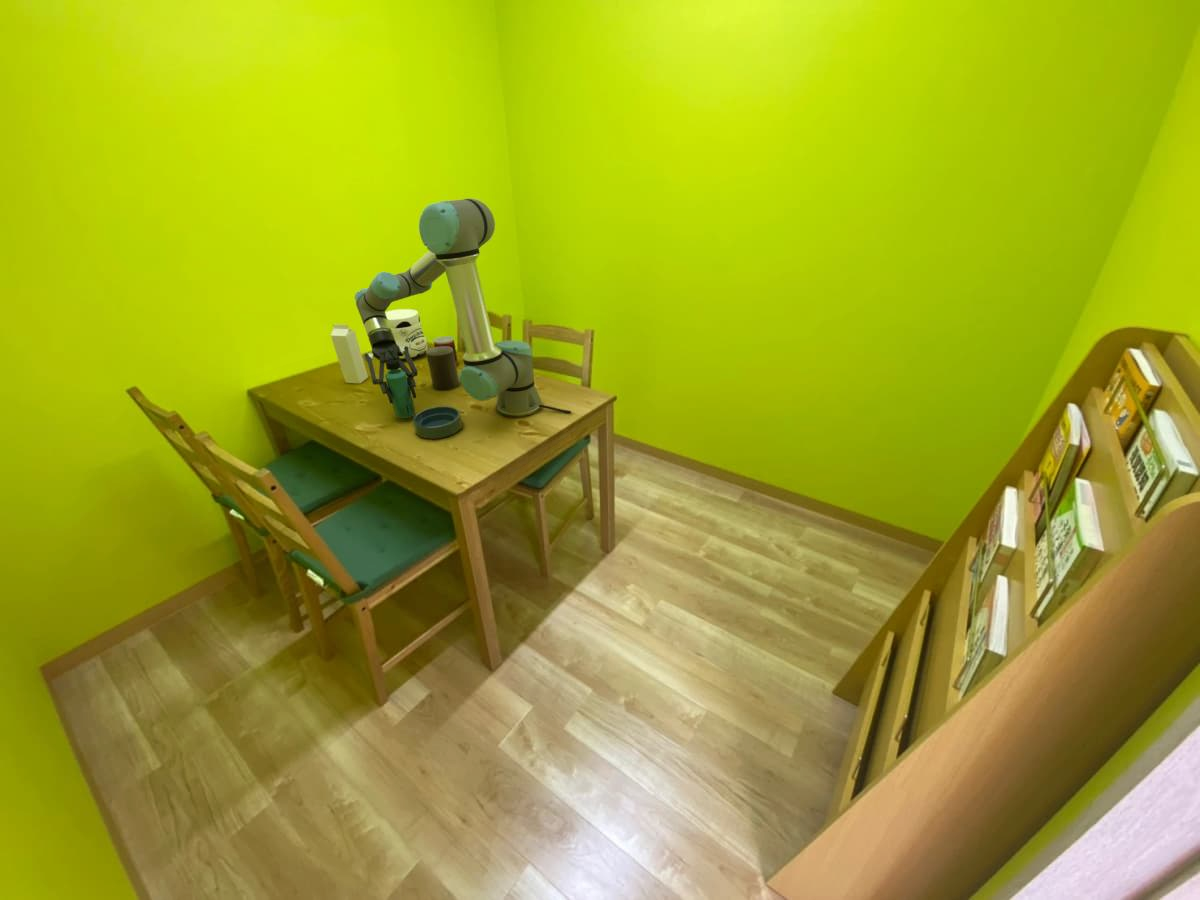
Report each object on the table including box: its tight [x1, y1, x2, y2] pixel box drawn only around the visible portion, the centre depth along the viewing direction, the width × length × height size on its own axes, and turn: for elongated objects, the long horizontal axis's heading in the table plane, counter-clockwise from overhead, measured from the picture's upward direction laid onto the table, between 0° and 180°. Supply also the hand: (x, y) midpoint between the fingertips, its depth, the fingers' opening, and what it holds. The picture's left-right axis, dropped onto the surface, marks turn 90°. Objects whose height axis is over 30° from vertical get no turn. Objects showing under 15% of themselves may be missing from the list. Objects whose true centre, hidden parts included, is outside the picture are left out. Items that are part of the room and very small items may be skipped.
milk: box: [330, 323, 369, 385], centre depth 180 cm, size 6×6×22 cm
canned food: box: [433, 335, 459, 366], centre depth 195 cm, size 8×8×11 cm
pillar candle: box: [425, 346, 460, 391], centre depth 177 cm, size 10×10×15 cm
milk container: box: [385, 308, 429, 361], centre depth 203 cm, size 17×17×18 cm
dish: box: [412, 405, 463, 440], centre depth 152 cm, size 14×14×4 cm
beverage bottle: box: [384, 360, 416, 419], centre depth 154 cm, size 6×7×20 cm
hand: (403, 398), depth 152 cm, fingers closed on beverage bottle, 6 cm apart
